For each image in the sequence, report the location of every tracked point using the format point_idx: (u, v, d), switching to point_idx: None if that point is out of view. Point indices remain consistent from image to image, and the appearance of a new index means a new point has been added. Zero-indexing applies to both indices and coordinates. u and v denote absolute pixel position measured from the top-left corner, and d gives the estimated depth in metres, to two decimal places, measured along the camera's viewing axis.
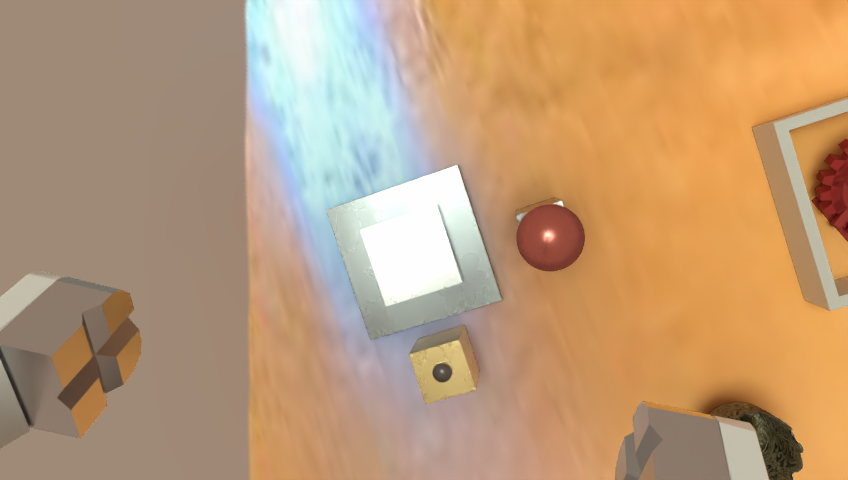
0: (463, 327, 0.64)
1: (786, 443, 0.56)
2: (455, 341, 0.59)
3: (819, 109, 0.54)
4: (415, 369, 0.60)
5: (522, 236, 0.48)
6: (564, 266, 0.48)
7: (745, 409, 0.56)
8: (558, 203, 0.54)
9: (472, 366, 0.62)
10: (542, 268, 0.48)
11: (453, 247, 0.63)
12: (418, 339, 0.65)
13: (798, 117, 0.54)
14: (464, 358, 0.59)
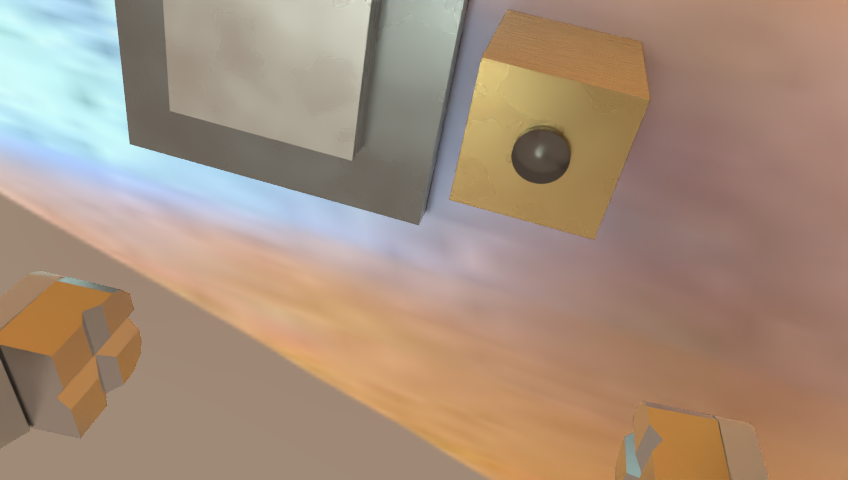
0: (504, 16, 0.23)
1: None
2: (481, 70, 0.19)
3: None
4: (494, 208, 0.21)
5: None
6: None
7: None
8: None
9: (597, 61, 0.20)
10: None
11: None
12: None
13: None
14: (541, 75, 0.19)
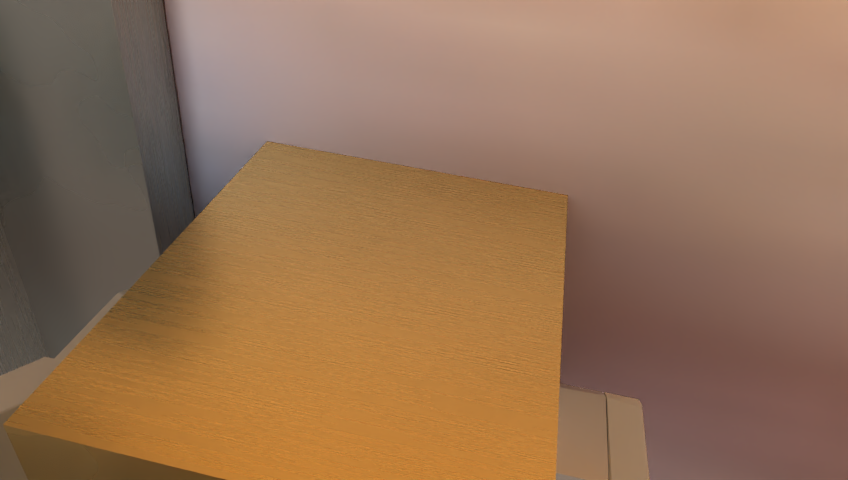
0: (237, 174, 0.10)
1: None
2: (23, 451, 0.06)
3: None
4: None
5: None
6: None
7: None
8: None
9: (423, 325, 0.07)
10: None
11: None
12: None
13: None
14: (195, 475, 0.06)
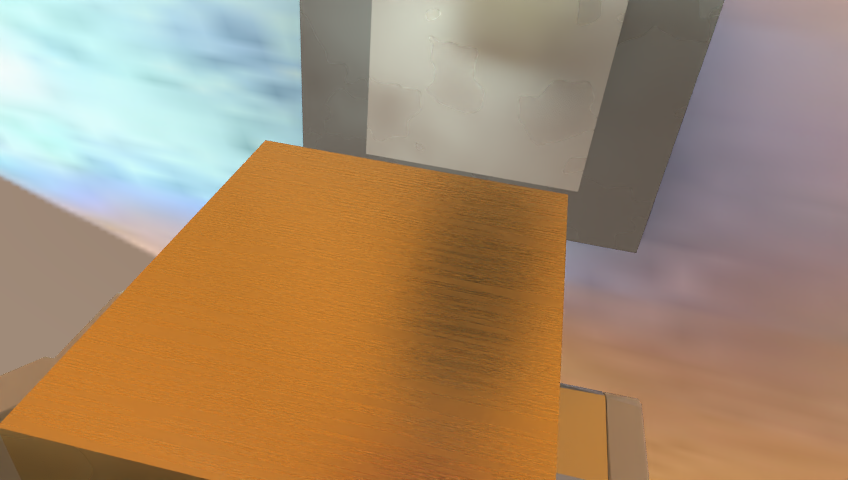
0: (235, 173, 0.10)
1: None
2: (17, 454, 0.06)
3: None
4: None
5: None
6: None
7: None
8: None
9: (422, 326, 0.07)
10: None
11: None
12: None
13: None
14: (191, 478, 0.06)
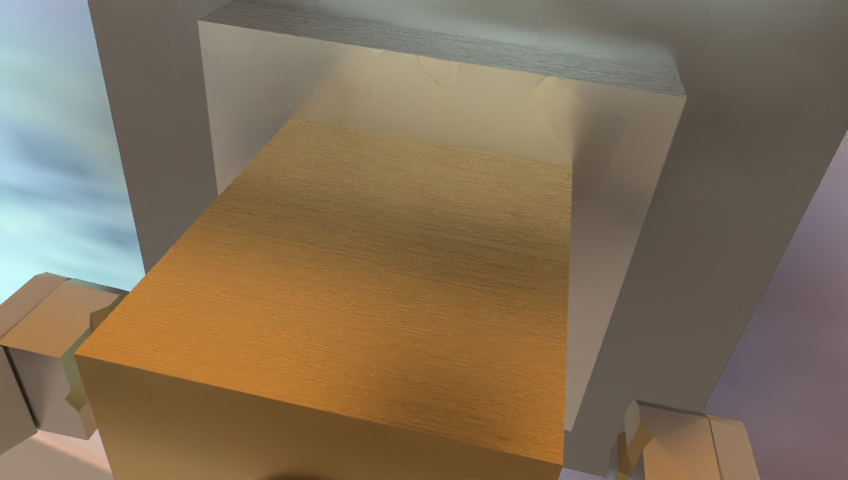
0: (265, 146, 0.10)
1: None
2: (89, 380, 0.07)
3: None
4: None
5: None
6: None
7: None
8: None
9: (443, 276, 0.08)
10: None
11: (476, 32, 0.11)
12: None
13: None
14: (245, 396, 0.06)
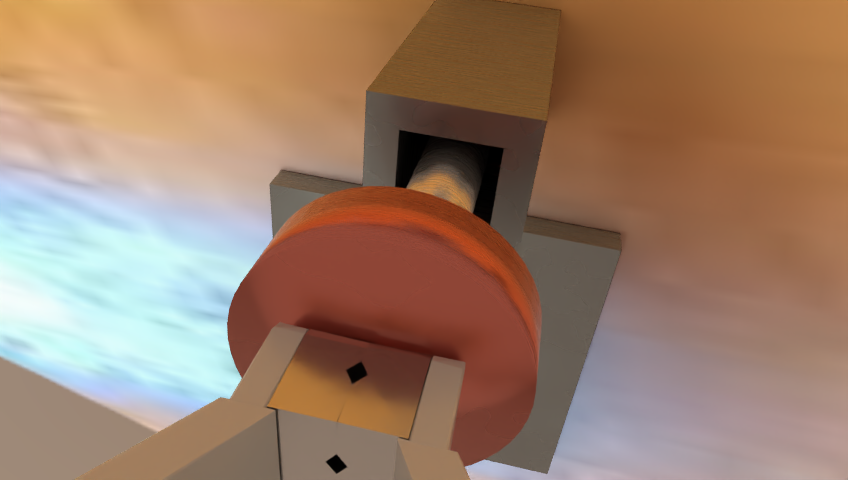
0: None
1: None
2: None
3: None
4: None
5: None
6: (528, 387, 0.10)
7: None
8: (371, 104, 0.14)
9: None
10: (489, 449, 0.11)
11: None
12: None
13: None
14: None
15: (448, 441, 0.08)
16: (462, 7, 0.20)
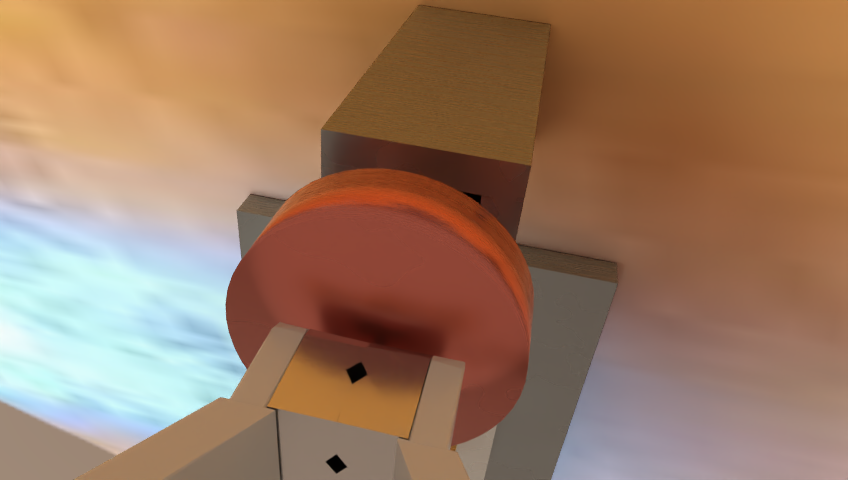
0: None
1: None
2: None
3: None
4: None
5: None
6: (520, 364, 0.10)
7: None
8: (328, 145, 0.12)
9: None
10: (483, 426, 0.11)
11: None
12: None
13: None
14: None
15: (448, 441, 0.08)
16: (441, 22, 0.18)
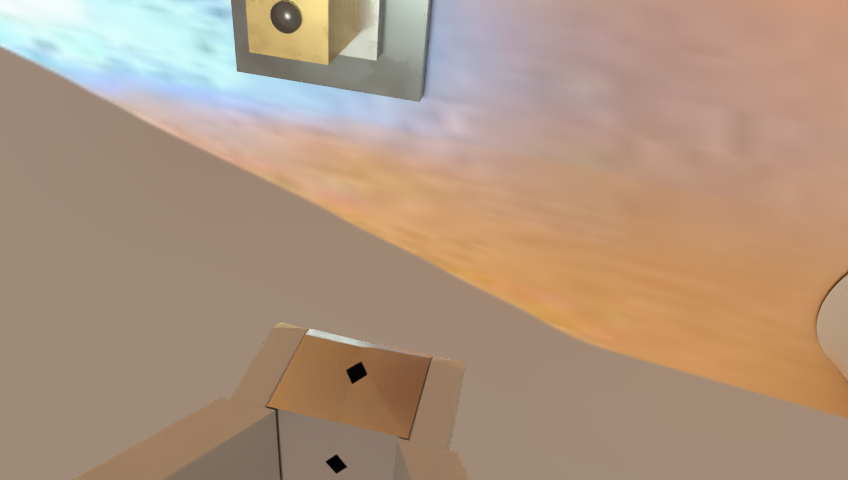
0: None
1: None
2: None
3: None
4: (273, 53, 0.38)
5: None
6: None
7: None
8: None
9: None
10: None
11: None
12: None
13: None
14: None
15: (448, 441, 0.08)
16: None
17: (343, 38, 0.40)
